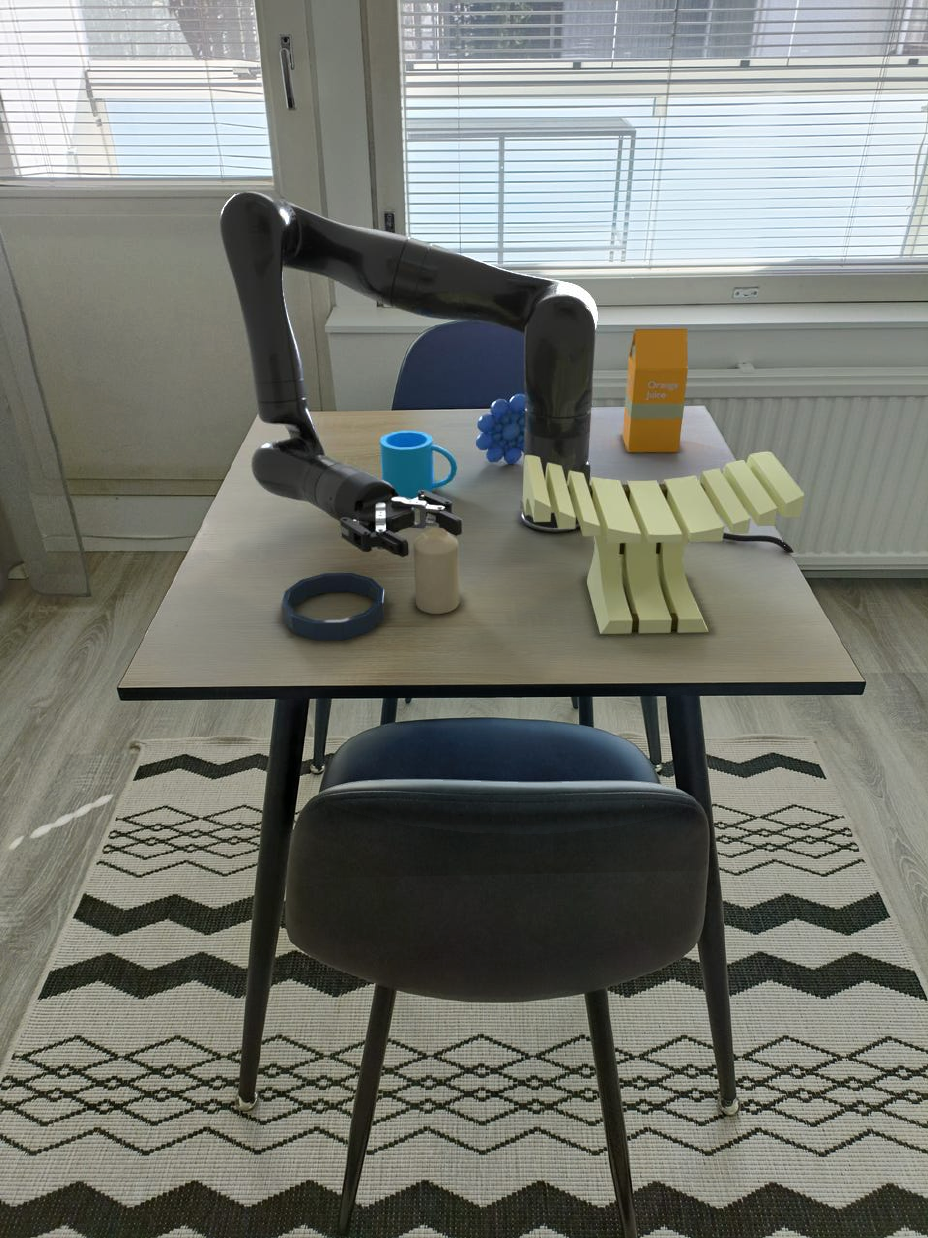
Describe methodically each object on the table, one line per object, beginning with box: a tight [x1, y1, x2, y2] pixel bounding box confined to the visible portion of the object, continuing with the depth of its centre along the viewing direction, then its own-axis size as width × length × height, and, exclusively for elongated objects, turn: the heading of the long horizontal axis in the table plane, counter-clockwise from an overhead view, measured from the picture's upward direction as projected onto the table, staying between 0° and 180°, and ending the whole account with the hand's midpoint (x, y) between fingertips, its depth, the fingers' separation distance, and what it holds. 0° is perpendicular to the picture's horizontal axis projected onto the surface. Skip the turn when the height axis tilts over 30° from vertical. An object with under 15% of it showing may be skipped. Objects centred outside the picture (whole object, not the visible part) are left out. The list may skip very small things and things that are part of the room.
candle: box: [412, 527, 460, 615], centre depth 119 cm, size 6×6×10 cm
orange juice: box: [622, 328, 689, 453], centre depth 163 cm, size 8×9×20 cm
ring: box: [280, 572, 386, 641], centre depth 119 cm, size 12×12×2 cm
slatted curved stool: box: [522, 451, 806, 635], centre depth 118 cm, size 30×16×18 cm, turn 91°
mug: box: [379, 430, 458, 499], centre depth 150 cm, size 12×8×8 cm
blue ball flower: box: [475, 393, 525, 465], centre depth 159 cm, size 12×7×12 cm, turn 90°
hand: (433, 538), depth 118 cm, fingers open, 8 cm apart
